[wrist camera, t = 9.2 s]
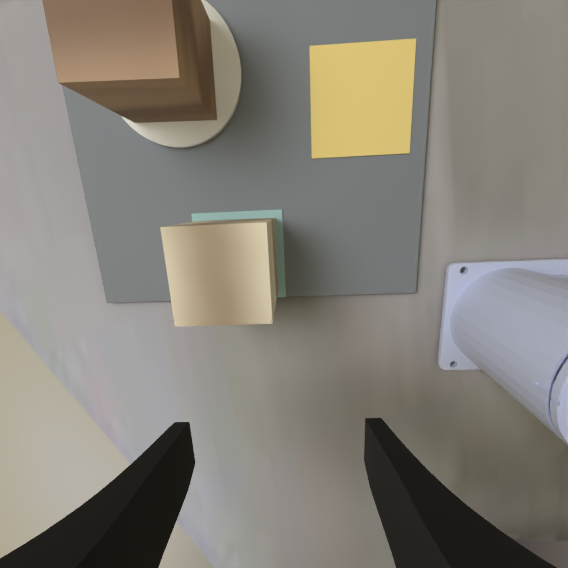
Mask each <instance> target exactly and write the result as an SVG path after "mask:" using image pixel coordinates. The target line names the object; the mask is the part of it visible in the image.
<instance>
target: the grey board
mask: <svg viewBox="0 0 568 568" xmlns="http://www.w3.org/2000/svg"><path fill="white" fill-rule="evenodd" d="M205 1H207V2H208V3H209V4H210V5H211V6H212V7H213V8H215V10H216V11H217V12H218V13H219V14H220V15H221V17H222V18H223V20H224V21H225V23H226V24H227V26H228V28H229V30H230V31H231V33H232V35H233V38H234V41H235V44H236V46H237V49H238V52H239V56H240V60H241V68H242V87H241V94H240V98H239V102H238V105H237V108H236V110H235V112H234V114H233V116H232V118H231V120H230V121H229V123H228V124H227V126H226V127H225V128H224V129H223V130H222V131H221V132H220V133H219V134H218V135H217V136H215V137H214V138H213V139H211V140H209V141H208V142H206V143H204V144H201V145H199V146H195V147H191V148H171V147H166V146H163V145H160V144H157V143H155V142H153V141H151V140H149V139H147V138H145V137H143V136H142V135H140V134H139V133H137V132H136V131H135V130H134V129H132V128H131V127H130V126H129V125H128V124H127V123H126V122H125V120H124V119H123V118H122V116H121V115H119V114H117V113H115V112H113V111H111V110H109V109H107V108H105V107H103V106H102V105H100V104H98V103H96V102H94V101H92V100H90V99H88V98H86V97H84V96H82V95H81V94H79V93H77V92H75V91H73V90H71V89H69V88H67V87H65V86H63V85H62V86H63V91H64V96H65V101H66V106H67V111H68V116H69V120H70V125H71V130H72V135H73V140H74V145H75V150H76V155H77V159H78V164H79V169H80V174H81V179H82V184H83V189H84V194H85V198H86V203H87V208H88V213H89V218H90V223H91V228H92V232H93V237H94V242H95V247H96V252H97V257H98V262H99V267H100V271H101V276H102V281H103V286H104V291H105V296H106V301H107V303H118V302H148V301H171V297H170V290H169V283H168V276H167V270H166V263H165V256H164V249H163V243H162V236H161V229H160V227H164V226H171V225H177V224H183V223H190V222H196V221H210V220H233V219H255V218H275V232H276V251H277V271H278V290H279V291H278V296H277V298H282V297H300V296H330V295H360V294H390V293H416V282H417V268H418V253H419V239H420V225H421V210H422V196H423V182H424V168H425V153H426V139H427V125H428V111H429V96H430V82H431V68H432V53H433V39H434V25H435V11H436V0H205Z"/></svg>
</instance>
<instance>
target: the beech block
mask: <svg viewBox="0 0 568 568" xmlns="http://www.w3.org/2000/svg"><path fill="white" fill-rule="evenodd" d="M160 229H161V236H162V243H163V249H164V256H165V263H166V270H167V276H168V283H169V290H170V297H171V304H172V310H173V317H174V324H175V326H208V325H242V324H272V323H273V318H274V313H275V307H276V302H277V296H278V291H279V290H278V271H277V251H276V232H275V218H255V219H233V220H210V221H196V222H190V223H183V224H177V225H171V226H164V227H160Z"/></svg>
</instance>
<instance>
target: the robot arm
mask: <svg viewBox="0 0 568 568" xmlns="http://www.w3.org/2000/svg"><path fill="white" fill-rule="evenodd" d="M462 267H465V270H464V272H463V273H460V269H461V268H462ZM453 361H455V362H454V364H452V365H450V363H451V362H453ZM437 363H438V366H439V367H440V368H441V369H442V370H482V371H483V372H485V373H486V374H487V375H488V376H489V377H490V378H491V379H493V380H494V381H495V382H496V383H497V384H498V385H499V386H501V387H502V388H503V389H504V390H505V391H506V392H507V393H509V394H510V395H511V396H512V397H513V398H514V399H515V400H517V401H518V402H519V403H520V404H521V405H522V406H523V407H525V408H526V409H527V410H528V411H529V412H530V413H531V414H533V415H534V416H535V417H536V418H537V419H538V420H540V421H541V422H542V423H543V424H544V425H545V426H546V427H548V428H549V429H550V430H551V431H552V432H553V433H554V434H556V435H557V436H558V437H559V438H560V439H561V440H563V441H564V442H565V443H566V444H567V445H568V258H561V259H534V260H507V261H480V262H454V263H451V264H449V265H448V267H447V269H446V277H445V288H444V298H443V309H442V319H441V330H440V340H439V351H438V361H437ZM364 461H365V466H366V471H367V475H368V480H369V484H370V488H371V491H372V494H373V498H374V501H375V504H376V507H377V510H378V513H379V516H380V519H381V522H382V525H383V528H384V531H385V534H386V537H387V540H388V543H389V546H390V549H391V552H392V555H393V558H394V562H395V565H396V568H556V567H555V566H553V565H551V564H550V563H548V562H546V561H545V560H543V559H541V558H540V557H538V556H537V555H535V554H534V553H532V552H531V551H529V550H528V549H526V548H525V547H523V546H522V545H520V544H519V543H517V542H516V541H514V540H513V539H511V538H510V537H509V536H507V535H506V534H504V533H503V532H501V531H500V530H499V529H497V528H496V527H495V526H493V525H492V524H491V523H489V522H488V521H487V520H485V519H484V518H483V517H481V516H480V515H479V514H477V513H476V512H475V511H474V510H472V509H471V508H470V507H468V506H467V505H466V504H465V503H464V502H462V501H461V500H460V499H459V498H458V497H457V496H455V495H454V494H453V493H452V492H451V491H450V490H448V489H447V488H446V487H445V486H444V485H443V484H442V483H441V482H440V481H439V480H438V479H437V478H436V477H435V476H434V475H432V474H431V473H430V472H429V471H428V470H427V469H426V468H425V467H424V466H423V465H422V464H421V463H420V461H419V460H418V459H417V458H416V457H415V456H414V455H413V454H412V453H411V452H410V451H409V450H408V449H407V448H406V446H405V445H404V444H403V443H402V442H401V441H400V440H399V438H398V437H397V436H396V435H395V434H394V433H393V432H392V430H391V429H390V428H389V427H388V426H387V424H386V423H385V422H384V421H383V420H382V419H381V418H365V451H364ZM194 466H195V458H194V451H193V444H192V437H191V431H190V424H189V422H175V423H174V424H173V425H171V426H170V427H169V428H168V429H167V430H166V431H165V432H164V433H163V434H162V435H161V436H160V437H159V438H158V439H157V440H156V441H155V442H154V443H153V444H152V445H151V446H150V447H149V448H148V449H147V450H146V451H145V452H144V453H143V454H142V455H141V456H139V457H138V458H137V459H136V460H135V461H134V462H133V463H132V464H131V465H130V466H129V467H127V468H126V469H125V470H124V471H123V472H122V473H121V474H120V475H118V476H117V477H116V478H115V479H114V480H113V481H112V482H110V483H109V484H108V485H107V486H106V487H105V488H103V489H102V490H101V491H99V492H98V493H97V494H96V495H94V496H93V497H92V498H91V499H89V500H88V501H87V502H85V503H84V504H83V505H82V506H80V507H79V508H77V509H76V510H75V511H73V512H72V513H70V514H69V515H67V516H66V517H65V518H63V519H62V520H60V521H59V522H57V523H56V524H54V525H53V526H51V527H50V528H49V529H47V530H46V531H44V532H43V533H41V534H40V535H38V536H36V537H35V538H33V539H32V540H30V541H28V542H27V543H25V544H24V545H22V546H20V547H19V548H17V549H15V550H14V551H12V552H11V553H9V554H7V555H6V556H4V557H2V558H0V568H158V567H159V564H160V561H161V559H162V556H163V553H164V550H165V548H166V546H167V543H168V540H169V538H170V535H171V533H172V530H173V528H174V525H175V523H176V520H177V517H178V515H179V512H180V510H181V507H182V505H183V502H184V499H185V497H186V494H187V491H188V488H189V485H190V481H191V477H192V473H193V470H194Z"/></svg>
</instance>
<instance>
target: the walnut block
mask: <svg viewBox="0 0 568 568" xmlns="http://www.w3.org/2000/svg"><path fill="white" fill-rule="evenodd" d="M43 5H44V11H45V16H46V21H47V27H48V32H49V37H50V43H51V48H52V53H53V58H54V64H55V69H56V74H57V80H58V83H60V84H61V85H63V86H65V87H67V88H69V89H71V90H73V91H75V92H77V93H79V94H81V95H82V96H84V97H86V98H88V99H90V100H92V101H94V102H96V103H98V104H100V105H102V106H103V107H105V108H107V109H109V110H111V111H113V112H115V113H117V114H119V115H121V116H123V117H124V118H126V119H128V120H130V121H132V122H134V123H148V122H177V121H205V120H217V111H216V97H215V83H214V69H213V55H212V42H211V28H210V19H209V17H208V15H207V12H206V10H205V8H204V6H203V3H202V1H201V0H43Z"/></svg>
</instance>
